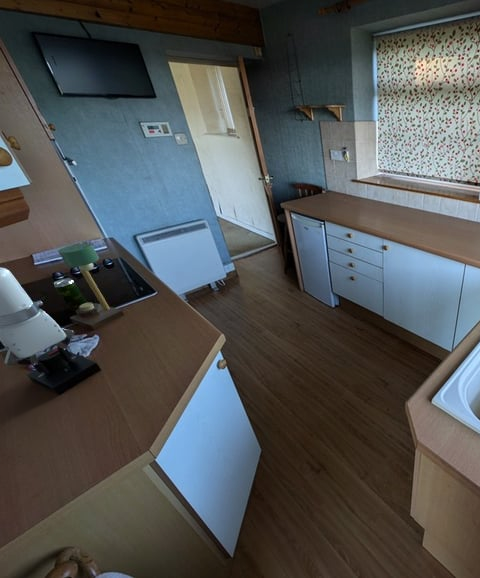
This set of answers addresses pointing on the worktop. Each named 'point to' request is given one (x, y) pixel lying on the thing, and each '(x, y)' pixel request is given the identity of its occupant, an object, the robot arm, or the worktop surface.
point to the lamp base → (96, 316)
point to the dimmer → (66, 375)
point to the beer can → (70, 293)
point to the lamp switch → (86, 306)
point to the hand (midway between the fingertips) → (57, 365)
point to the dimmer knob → (53, 360)
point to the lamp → (83, 264)
